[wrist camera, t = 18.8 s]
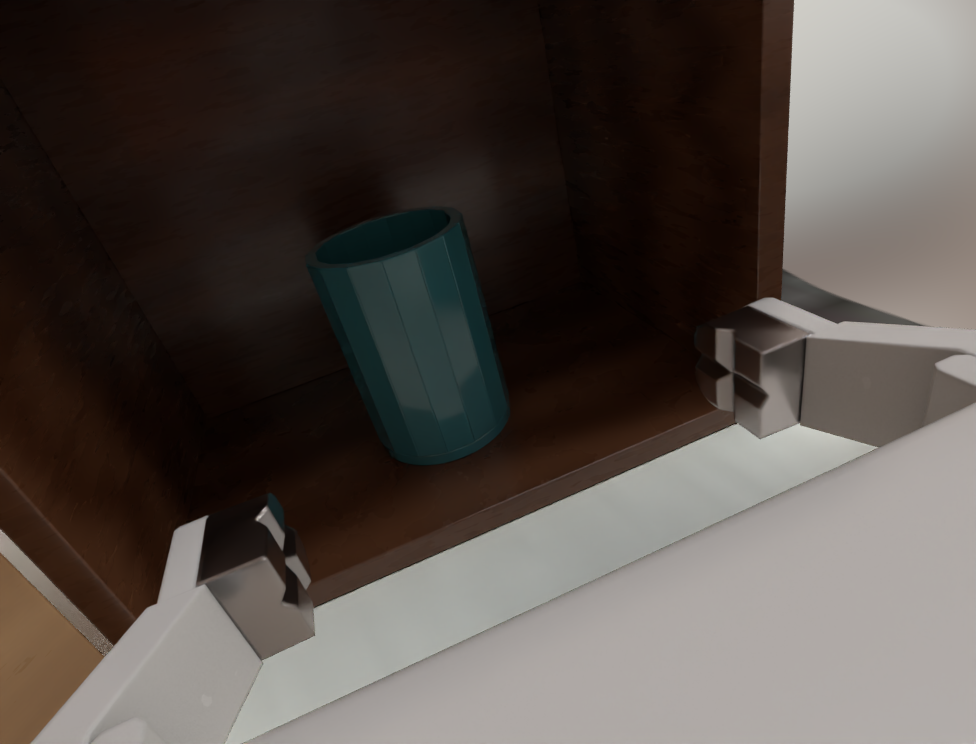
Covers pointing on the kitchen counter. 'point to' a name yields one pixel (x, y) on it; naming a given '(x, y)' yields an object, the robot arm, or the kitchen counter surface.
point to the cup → (415, 332)
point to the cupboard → (336, 206)
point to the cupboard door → (35, 658)
